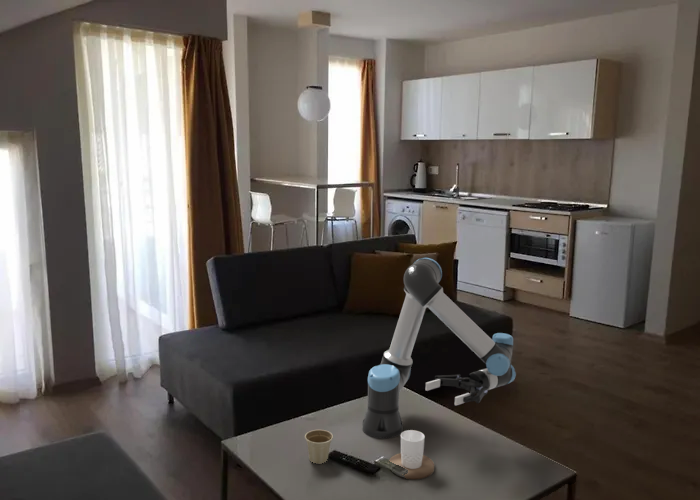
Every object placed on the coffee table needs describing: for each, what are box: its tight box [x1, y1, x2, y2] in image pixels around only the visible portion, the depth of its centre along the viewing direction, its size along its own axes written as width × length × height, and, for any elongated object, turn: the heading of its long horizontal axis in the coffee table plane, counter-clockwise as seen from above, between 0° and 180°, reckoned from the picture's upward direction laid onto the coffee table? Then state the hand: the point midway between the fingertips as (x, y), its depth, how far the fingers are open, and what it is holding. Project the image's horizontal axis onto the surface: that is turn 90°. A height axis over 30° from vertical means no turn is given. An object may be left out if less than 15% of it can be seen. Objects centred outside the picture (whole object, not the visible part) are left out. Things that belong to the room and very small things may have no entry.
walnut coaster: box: [388, 452, 435, 480], centre depth 199 cm, size 15×15×1 cm
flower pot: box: [304, 429, 334, 465], centre depth 202 cm, size 9×9×9 cm
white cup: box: [400, 429, 426, 469], centre depth 198 cm, size 8×8×10 cm
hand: (440, 393), depth 203 cm, fingers open, 13 cm apart
